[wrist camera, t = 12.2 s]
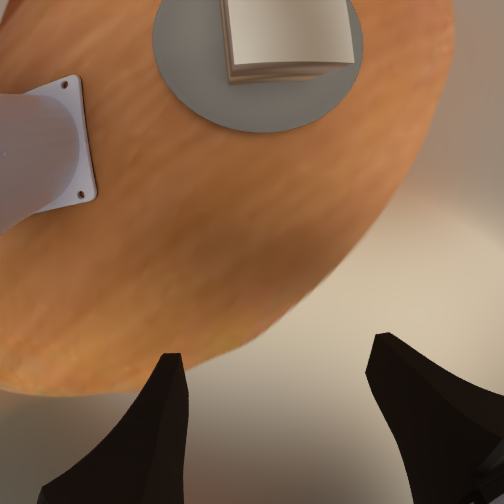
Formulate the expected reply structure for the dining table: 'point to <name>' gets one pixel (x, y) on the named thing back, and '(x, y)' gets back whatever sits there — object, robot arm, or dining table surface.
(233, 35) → the block
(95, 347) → the dining table surface
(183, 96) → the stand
